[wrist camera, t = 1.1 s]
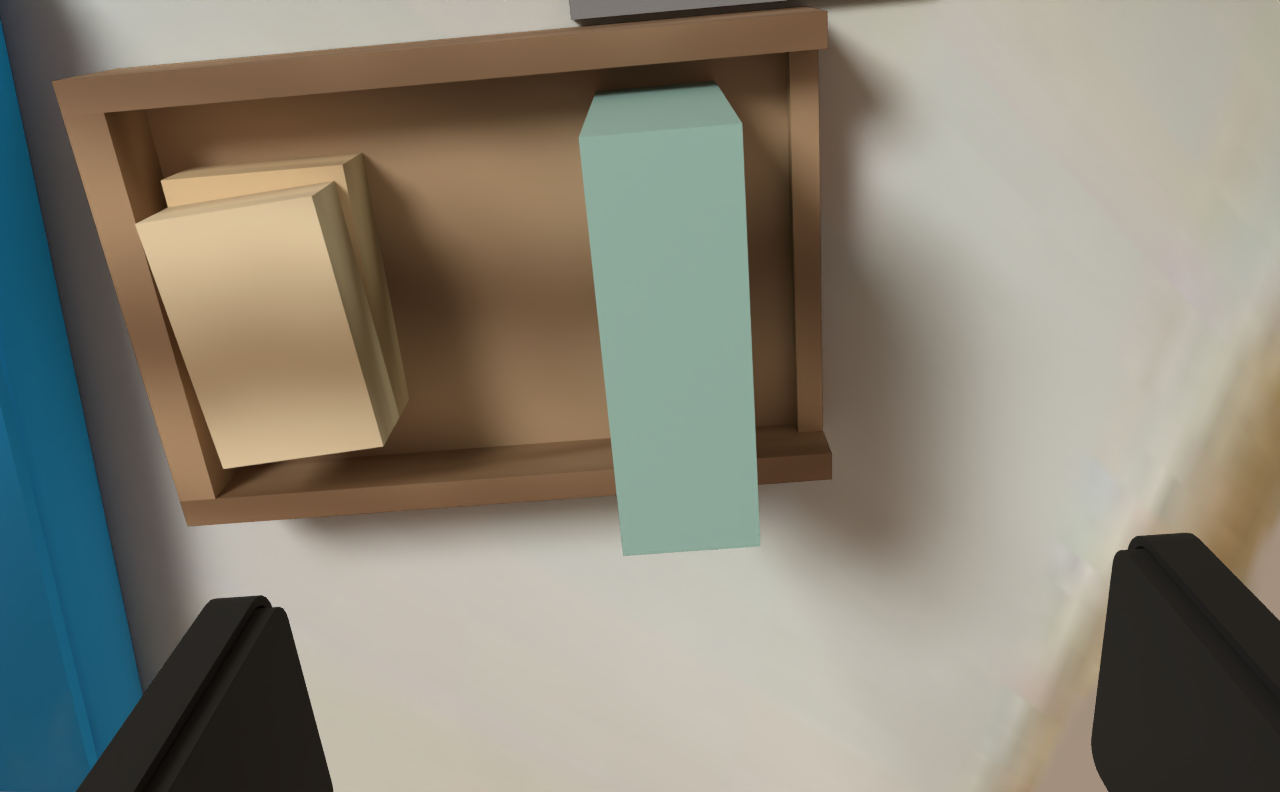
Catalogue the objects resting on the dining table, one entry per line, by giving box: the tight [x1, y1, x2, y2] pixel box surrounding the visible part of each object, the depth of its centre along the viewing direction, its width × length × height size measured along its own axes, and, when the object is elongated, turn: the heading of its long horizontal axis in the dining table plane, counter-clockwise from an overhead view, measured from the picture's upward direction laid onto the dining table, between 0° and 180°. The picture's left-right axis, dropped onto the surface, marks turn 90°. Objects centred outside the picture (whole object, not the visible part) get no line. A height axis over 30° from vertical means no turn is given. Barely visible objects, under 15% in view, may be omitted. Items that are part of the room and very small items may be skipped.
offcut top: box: [135, 181, 399, 469], centre depth 25 cm, size 6×4×2 cm, turn 9°
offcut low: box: [161, 152, 409, 425], centre depth 26 cm, size 7×4×2 cm, turn 5°
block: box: [579, 81, 760, 556], centre depth 23 cm, size 9×3×8 cm, turn 5°
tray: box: [52, 6, 832, 526], centre depth 27 cm, size 12×18×3 cm, turn 95°
